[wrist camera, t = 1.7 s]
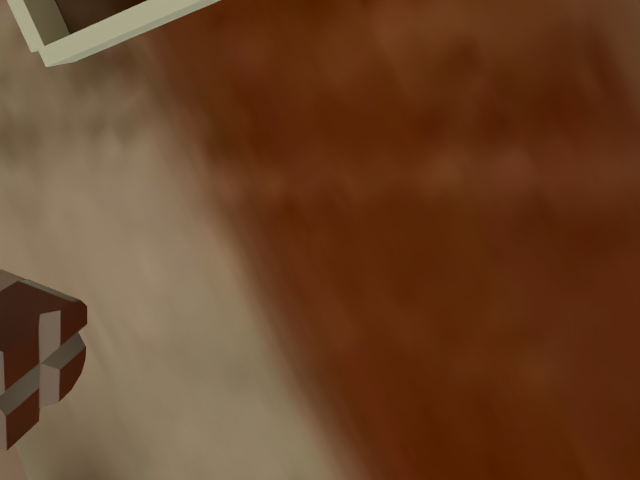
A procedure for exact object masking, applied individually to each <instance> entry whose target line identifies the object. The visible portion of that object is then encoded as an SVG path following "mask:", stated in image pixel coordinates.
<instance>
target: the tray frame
mask: <svg viewBox="0 0 640 480" xmlns="http://www.w3.org/2000/svg"><path fill="white" fill-rule="evenodd" d="M7 1H8V4H9V6H10V8H11V10H12V12H13V14H14V16H15V19H16V21H17V23H18V25H19V27H20V29H21V31H22V34H23V36H24V38H25V40H26V42H27V44H28V46H29V49H30V51H31V52H36V51H39V53H40V55H41V57H42V59H43V62H44V64H45V66H46V67H49V66H55V65H60V64H66V63H71V62H75V61H78V60H80V59H83V58H85V57H87V56H90V55H92V54H94V53H97V52H99V51H102V50H104V49H106V48H109V47H111V46H113V45H116V44H118V43H120V42H123V41H125V40H128V39H130V38H132V37H135V36H137V35H139V34H142V33H144V32H146V31H149V30H151V29H154V28H156V27H158V26H161V25H163V24H165V23H168V22H170V21H173V20H175V19H177V18H180V17H182V16H184V15H187V14H189V13H191V12H194V11H196V10H199V9H201V8H203V7H206V6H208V5H210V4H213V3H215V2H218V1H220V0H147V1H145V2H142V3H140V4H138V5H136V6H133V7H131V8H129V9H127V10H124V11H122V12H120V13H118V14H116V15H113V16H111V17H109V18H107V19H104V20H102V21H100V22H98V23H95V24H93V25H91V26H89V27H86V28H84V29H82V30H80V31H77V32H75V33H73V34H71V35H70V33H69V31H68V29H67V26H66V24H65V22H64V20H63V17H62V15H61V13H60V11H59V8H58V6H57V4H56V1H55V0H7Z"/></svg>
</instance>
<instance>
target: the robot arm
mask: <svg viewBox="0 0 640 480" xmlns="http://www.w3.org/2000/svg"><path fill="white" fill-rule="evenodd" d="M86 324H87V306H86V305H85V304H84V303H83V302H82V301H81V300H79V299H76V298H74V297H71V296H69V295H66V294H64V293H61V292H59V291H56V290H54V289H51V288H49V287H46V286H44V285H41V284H38V283H36V282H33V281H31V280H26V279H24V278H22V277H19V276H17V275H14V274H12V273H9V272H7V271H4V270H0V448H1V449H4V450H6V451H7V450H8V449H9V448H10V447H11V446H12V445H13V444H15V443H16V442H17V441H18V440H19V439H20V438H21V437H22V436H23V435H24V434H25V433H26V432H27V431H28V430H30V429H31V428H32V427H33V426H34V425H35V424H36V423H37V422H38V421H39V414H40V408H41V407H44V406H47V405H50V404H54V403H57V402H59V401H60V400H61V399H62V398H63V397H64V396H65V395H66V394H67V393H68V392H69V391H70V390H71V389H72V388H73V386H74V384H75V383H76V381H77V379H78V378H79V376H80V374H81V372H82V369H83V366H84V362H85V356H86V346H85V344H84V342H83V340H82V338H81V336H80V335H79V333H78V331H80V330H81V329H82V328H83V327H84V326H85V325H86Z"/></svg>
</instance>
